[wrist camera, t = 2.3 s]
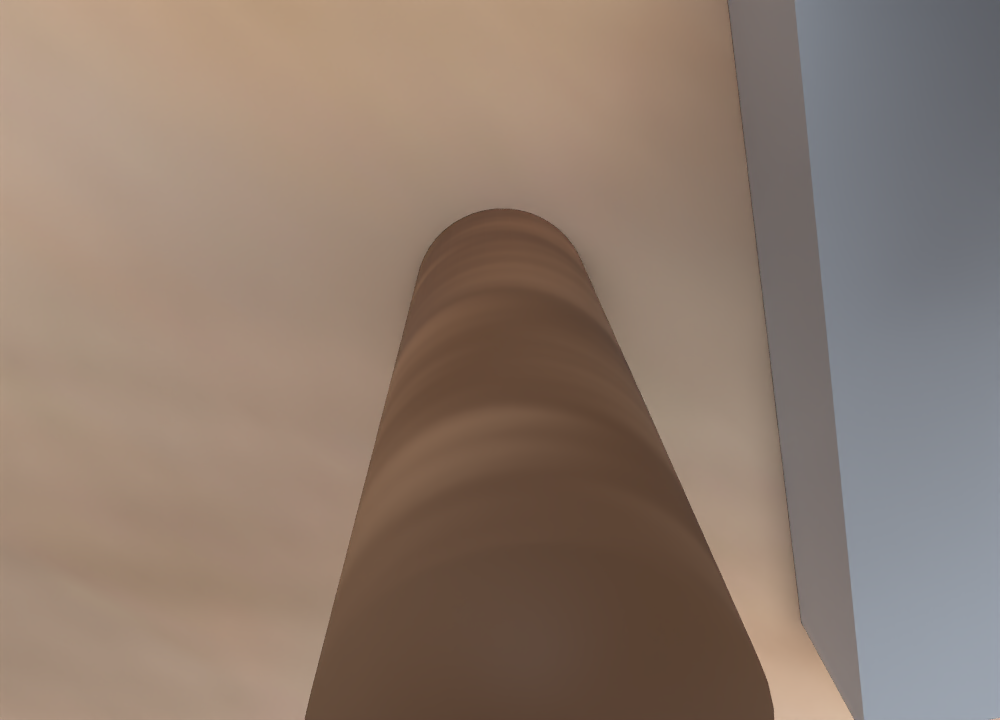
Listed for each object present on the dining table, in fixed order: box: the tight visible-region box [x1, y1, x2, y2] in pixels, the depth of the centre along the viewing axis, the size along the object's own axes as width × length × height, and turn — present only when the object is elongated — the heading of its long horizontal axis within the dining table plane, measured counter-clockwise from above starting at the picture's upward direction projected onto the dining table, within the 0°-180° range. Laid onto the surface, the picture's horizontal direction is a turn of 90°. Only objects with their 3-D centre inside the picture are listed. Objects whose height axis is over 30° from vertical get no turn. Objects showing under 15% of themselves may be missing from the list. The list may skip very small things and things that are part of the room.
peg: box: [305, 209, 774, 720], centre depth 15 cm, size 4×4×15 cm
